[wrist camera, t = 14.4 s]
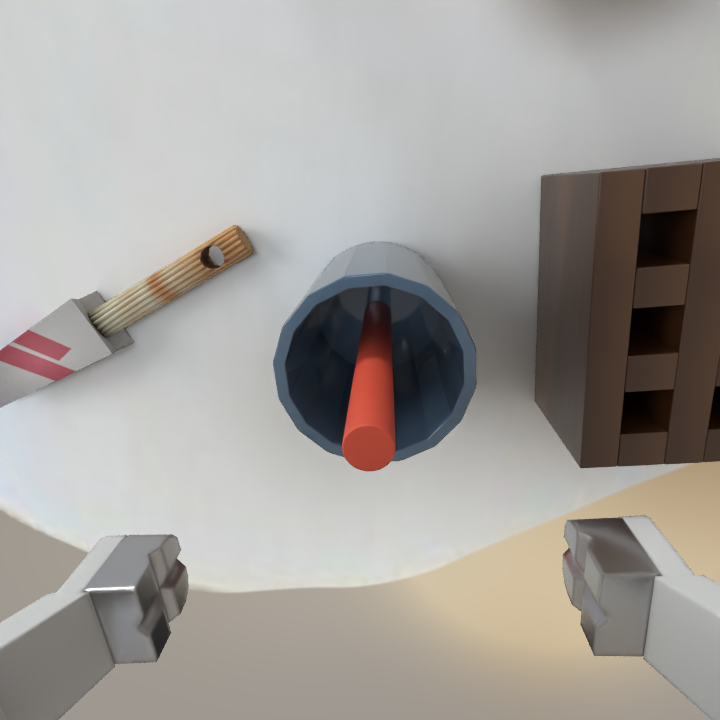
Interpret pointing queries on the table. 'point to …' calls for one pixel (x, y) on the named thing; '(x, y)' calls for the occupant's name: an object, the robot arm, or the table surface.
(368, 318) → the straw
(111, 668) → the robot arm
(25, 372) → the grey and wooden tool
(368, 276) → the tumbler
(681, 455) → the caddy
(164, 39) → the table surface
